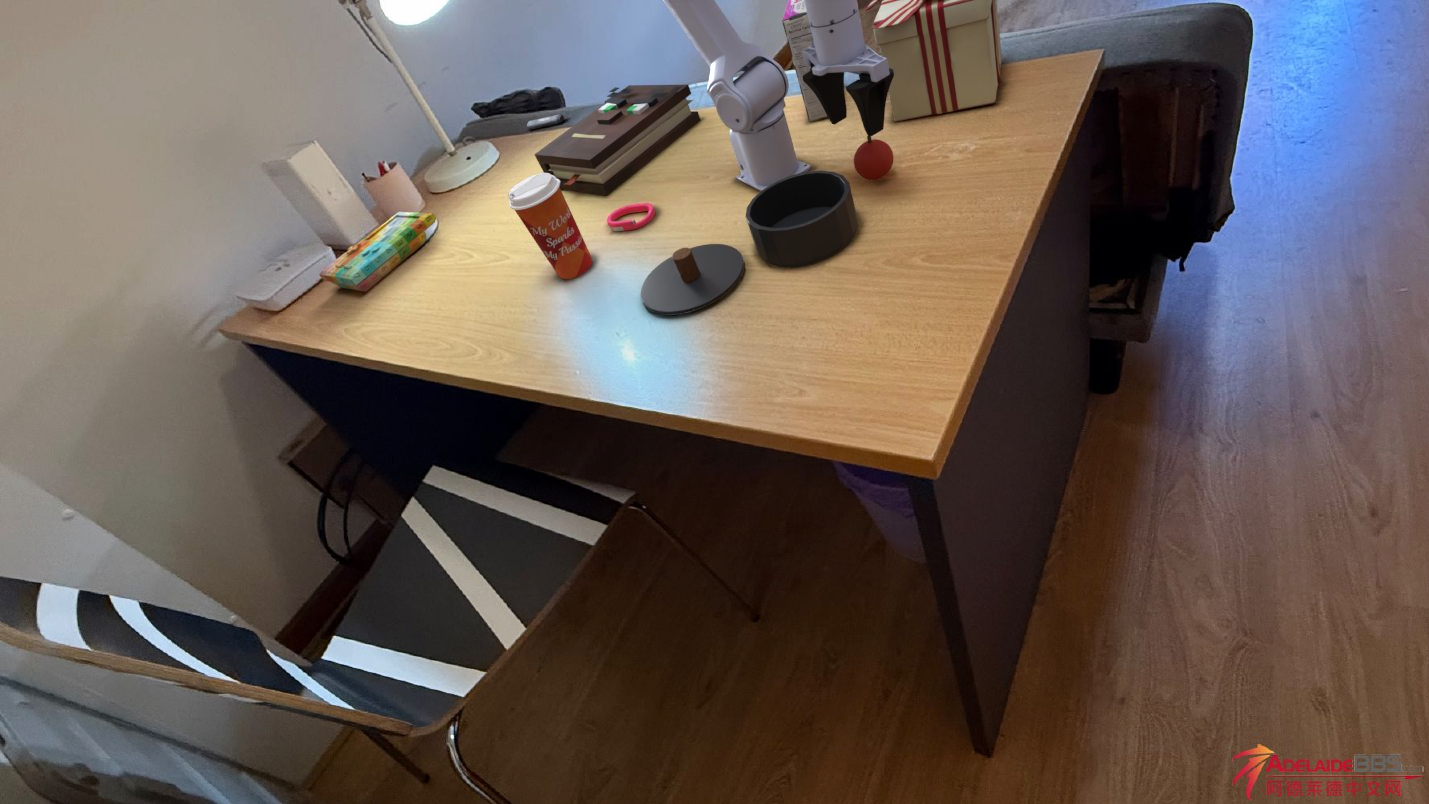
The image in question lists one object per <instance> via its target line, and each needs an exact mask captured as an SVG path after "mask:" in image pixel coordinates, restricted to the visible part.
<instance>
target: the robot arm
mask: <svg viewBox="0 0 1429 804" xmlns="http://www.w3.org/2000/svg"><path fill="white" fill-rule="evenodd" d="M662 2H663V3H664V4H665V6H666V8H667V9H668V10H669V12H670V13H671V15H672V16H673V17H674V19H675V20H676V22H677V24H679V26H680V28H681V29H682V30H683V32H684V33H685V34H686V36H687V38H688V39H689V41H690V42H691V43H692V44H693V46H694V47H695V49H696V50H697V51H698V54H700V56H701V58H702V59H703V60H704V61H705V63H706V64H707V66H708V67H709V70H710V71H709V76H708V82H707V86H706V94H707V95H708V96H709V98H710V99H711V100H712V102H713V104H714V107H715V110H716V113H717V115H718V117H719V119H720V121H721V122H722V123H723V124H724V125H725V127H727V128H728V129H729V142H730V145H731V148H732V150H733V154H734V156H735V159H736V162H737V165H738V168H739V171H740V173H739V174H737V175H736V179H737V180H738V181H740V182H741V183H744V184H745V185H748V186H750V187H752V188H753V189H756V190H758V191H759V192H761V191H762V190H763V189H765V188H766V187H768V186H770V185H771V184H773V183H775V182H777V181H779V180H781V179H784V178H786V177H789V176H792V175H795V174H799V173H803V172H809V171H810V170H811V169H812V165H811V164H808V163H806V162H804V161H801V160H799V159H798V158H797V154H796V150H795V146H794V143H793V138H792V135H791V132H790V128H789V124H788V121H787V118H786V113H785V108H786V107H787V105H786V102H785V98H786V96H787V94H788V92H789V84H790V83H789V79H788V76H787V73H786V71H785V70H784V68H783V67H782V66H781V64H780V63H778V62H777V61H776V60H774V58H772V57H771V56H769V54H768V53H767V51H765V49H764V48H763V46H761V45H759V44H755V43H751V42H746V41H743V40H742V39H741V37H740V36H739V35H738V32H737V31H736V30H735V28H734V27H733V26H732V24H731V23H730V21H729V19H728V18H727V17H726V15H725V13H724V12H723V10H722V9H721V8H720V6H719V5H718V2H716V0H662ZM804 2H805V6H806V11H807V15H808V19H809V23H810V28H811V32H812V37H813V41H814V44H813V45H812V46H810V47H808V48H806V49H805V50H803V51H802V55H803V59H804V63H805V66H808V67H810V66H811V68H810V71H809V72H808V73H806V74H804V75H803V77H802V78H803V81H804V82H805V83H806V84H807V85H808V86H809V87H810V88H811V90H812V91H813V92H814V93H815V95H816V96H817V98H818V99H819V101H820V103H821V105H822V107H823V108H824V110H825V112H826V114H827V116H828V118H827V119H828V120H829V122H830V124H832V125H837V124H839V123H840V122H842V121H843V120H845V119H847V117H848V115H847V114H848V113H847V112H848V110H847V109H848V108H847V102H846V94H845V91H846V92H847V93H848V95H849V96H850V97H851V98H852V100H853V102H854V104H855V105H856V108H857V110H858V112H859V116H860V118H861V122H862V126H863V128H864V131H865V133H866V136H871V137H873V136H875V135H876V134H878V133H879V132H881V131H883V130H884V127H885V115H886V104H887V98H888V95H889V93H888V91H889V87H890V85H891V82H892V79H893V77H894V72H893V69H891V68H889V67H888V61H887V58H885V57H882V56H881V54H878V53H877V52H876V51H875V50H874V49H872V48H871V47H870V46H869V45H867V43H866V41H865V37H864V36H865V35H864V31H863V25H862V21H861V13H860V10H859V4H858V0H804ZM740 72H742V73H741V74H740V75H739V76H737V78H735V79H734V77H735V76H736V75H737V74H738V73H740ZM845 73H850V74H854V75H858V79H856V80H855V81H853V82H851V83H850V84H849V83H848V85H846V86H845Z"/></svg>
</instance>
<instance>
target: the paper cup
mask: <svg viewBox="0 0 1429 804" xmlns="http://www.w3.org/2000/svg"><path fill="white" fill-rule="evenodd" d="M559 186H560V180H559V179H557V178H556V177H555V176H554V175H551V174H549V173H544V172H539V173H536V174H533V175H530V176H528V177H526V178H524V179H523V180H521V181H519V182H518V183H516V184H515V185H514V186H512V187H511V189H510V190H509V192H508V194H507V197H508V200H509V204H508V205H509V206H508V207H509V208H510V209H511V210H514V212H515V213H516V215H517V216H518V217H519V219H520V220H521V222H522V224H523V225H524V227H525V228H526V229H527V231H528V233H529V234H530V235H531V237H532V238H533V240H534V242H535V243H536V245H537V246H538V247H539V249H540V251H541V252H542V253H543V255H544V256H545V258H546V259H547V261H548V262H549V264H550V266H551V267H552V268H553V270H554V271H555V272H556V274H557V275H558V277H559V278H560V279H561V280H572V279H575V278H577V277H580V276H581V275H583V274H584V273H586V272H587V271H588V270H589V269H590V268H591V266H592V264H593V258H592V255H591V253H590V251H589V249H588V247H587V244H586V242H585V240H584V238H583V235H582V233H581V231H580V229H579V227H578V224H577V222H576V220H575V218H574V215H573V213H572V211H571V209H570V207H569V205H568V203H567V202H568V201H567V200H566V198H565V196H564V194H563V192H562V189H560V187H559Z"/></svg>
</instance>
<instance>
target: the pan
mask: <svg viewBox="0 0 1429 804" xmlns="http://www.w3.org/2000/svg"><path fill="white" fill-rule="evenodd" d="M853 196H854V195H853V192H852V188H851V184H850V181H849V180H848V179H847V178H846V177H845V175H843V174H840V173H838V172H836V171H834V170H833V171H832V170H823V169H822V170H811V171H810V170H808V171H806V172H803V173H799V174H795V175H792V176H789V177H786V178H784V179H781V180H779V181H777V182H775V183H773V184H771V185H770V186H768V187H766V188H765V189H763V190H762V191H759V193H757V194H756V195H755V196H754V197H753V198H752V199H751V200H750V202H749V204H748V205H747V207H746V210H745V211H746V212H745V219H746V223H747V225H748V228H749V231H750V234H751V237H752V240H753V243H754V245H755V249H756V251H757V253H758V255H759V257H760V259H761V260H762V261H763V262H764V263H766V264H767V265H771V266H773V267H777V268H784V269H786V268H789V269H790V268H791V269H792V268H793V269H794V268H802V267H806V266H810V265H814V264H817V263H820V262H822V261H825V260H827V259H830V258H831V257H833V256H835V255H836V254H838V253H839V252H841V251H842V250H844V249H845V248H846V247H848V245H850V243H851V242H852V241H853V240H854V238H855V237H856V234H858V230H859V220H858V214H857V210H856V206H855V201H854V197H853Z"/></svg>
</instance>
